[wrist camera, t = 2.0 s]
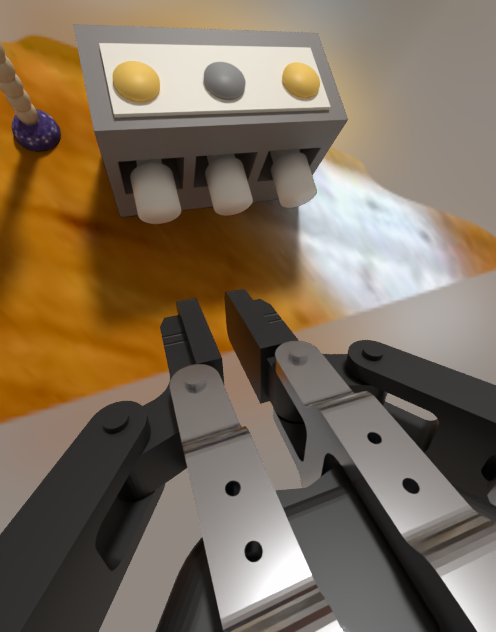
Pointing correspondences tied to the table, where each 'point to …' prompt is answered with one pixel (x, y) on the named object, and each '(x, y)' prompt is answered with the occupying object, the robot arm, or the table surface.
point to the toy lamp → (26, 112)
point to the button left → (155, 192)
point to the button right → (292, 178)
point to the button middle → (227, 184)
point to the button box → (206, 103)
